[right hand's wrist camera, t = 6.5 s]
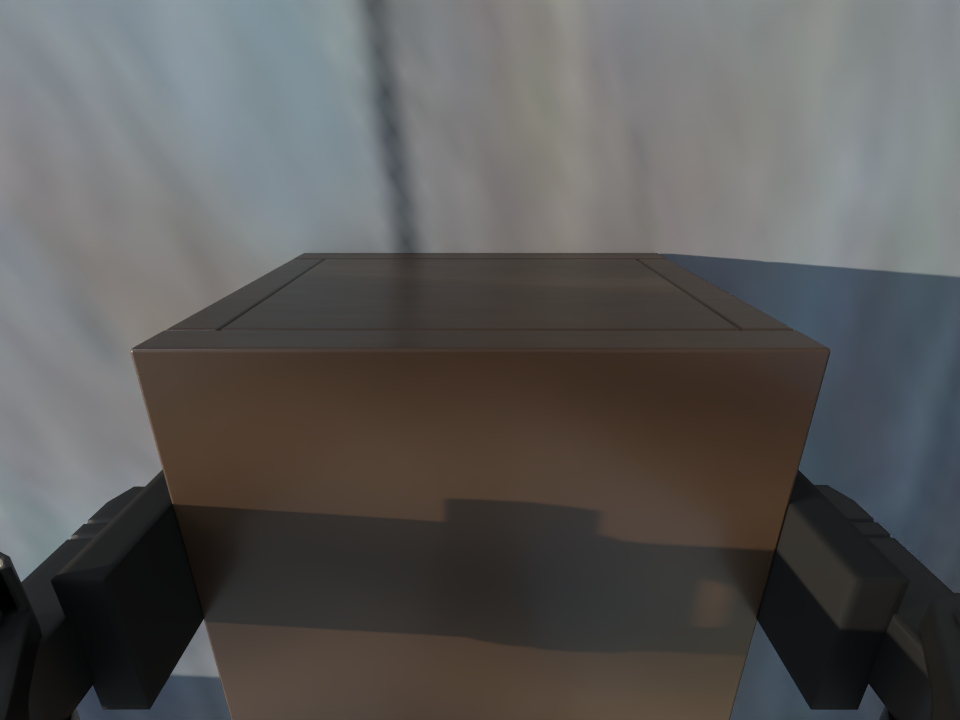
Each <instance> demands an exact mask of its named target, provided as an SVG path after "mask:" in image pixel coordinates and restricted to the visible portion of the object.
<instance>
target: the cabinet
mask: <svg viewBox="0 0 960 720" xmlns="http://www.w3.org/2000/svg"><path fill="white" fill-rule="evenodd" d="M131 355H132V359H133V362H134V366H135V370H136V373H137V377H138V381H139V384H140V388H141V392H142V395H143V399H144V402H145V406H146V410H147V413H148V417H149V421H150V424H151V428H152V432H153V435H154V439H155V443H156V446H157V450H158V454H159V457H160V461H161V464H162V468H163V472H164V475H165V479H166V483H167V486H168V490H169V494H170V497H171V501H172V505H173V508H174V512H175V515H176V519H177V523H178V526H179V530H180V534H181V537H182V541H183V545H184V548H185V552H186V556H187V559H188V563H189V567H190V570H191V574H192V577H193V581H194V585H195V588H196V592H197V596H198V599H199V603H200V607H201V610H202V614H203V618H204V621H205V625H206V628H207V632H208V636H209V639H210V643H211V647H212V650H213V654H214V658H215V661H216V665H217V669H218V672H219V676H220V680H221V683H222V687H223V690H224V694H225V698H226V701H227V705H228V709H229V712H230V716H231V720H729V719H730V716H731V712H732V709H733V705H734V701H735V698H736V694H737V690H738V687H739V683H740V679H741V676H742V672H743V668H744V665H745V661H746V657H747V654H748V650H749V647H750V643H751V639H752V636H753V632H754V628H755V625H756V621H757V617H758V614H759V610H760V606H761V603H762V599H763V596H764V592H765V588H766V585H767V581H768V577H769V574H770V570H771V566H772V563H773V559H774V555H775V552H776V548H777V544H778V541H779V537H780V534H781V530H782V526H783V523H784V519H785V515H786V512H787V508H788V504H789V501H790V497H791V493H792V490H793V486H794V483H795V479H796V475H797V472H798V468H799V464H800V461H801V457H802V453H803V450H804V446H805V442H806V439H807V435H808V432H809V428H810V424H811V421H812V417H813V413H814V410H815V406H816V402H817V399H818V395H819V391H820V388H821V384H822V380H823V377H824V373H825V370H826V366H827V362H828V359H829V355H830V349H829V348H827V347H825V346H823V345H822V344H820V343H818V342H816V341H814V340H813V339H811V338H809V337H807V336H805V335H804V334H802V333H800V332H798V331H794V330H793V329H792V328H790V327H788V326H786V325H785V324H783V323H781V322H779V321H777V320H776V319H774V318H772V317H770V316H768V315H767V314H765V313H763V312H761V311H760V310H758V309H756V308H754V307H752V306H751V305H749V304H747V303H745V302H743V301H742V300H740V299H738V298H736V297H734V296H733V295H731V294H729V293H727V292H725V291H724V290H722V289H720V288H718V287H716V286H715V285H713V284H711V283H709V282H707V281H706V280H704V279H702V278H700V277H699V276H697V275H695V274H693V273H691V272H690V271H688V270H686V269H684V268H682V267H681V266H679V265H677V264H675V263H673V262H672V261H670V260H668V259H667V258H665V257H663V256H661V255H659V254H657V253H304V254H302V255H300V256H298V257H296V258H294V259H293V260H291V261H289V262H288V263H286V264H284V265H282V266H280V267H278V268H277V269H275V270H273V271H271V272H269V273H268V274H266V275H264V276H262V277H260V278H259V279H257V280H255V281H253V282H251V283H250V284H248V285H246V286H244V287H242V288H241V289H239V290H237V291H235V292H233V293H232V294H230V295H228V296H226V297H224V298H223V299H221V300H219V301H217V302H215V303H214V304H212V305H210V306H208V307H206V308H205V309H203V310H201V311H199V312H197V313H196V314H194V315H192V316H190V317H188V318H187V319H185V320H183V321H181V322H179V323H178V324H176V325H174V326H172V327H170V328H169V329H167V331H163V332H161V333H159V334H157V335H155V336H154V337H152V338H150V339H148V340H146V341H145V342H143V343H141V344H139V345H137V346H136V347H134V348H132V349H131Z"/></svg>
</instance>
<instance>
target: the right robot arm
mask: <svg viewBox="0 0 960 720" xmlns="http://www.w3.org/2000/svg"><path fill="white" fill-rule="evenodd" d="M203 619H204V618H203V614H202V610H201V607H200V603H199V599H198V596H197V592H196V588H195V585H194V581H193V577H192V574H191V570H190V567H189V563H188V559H187V556H186V552H185V548H184V545H183V541H182V537H181V534H180V530H179V526H178V523H177V519H176V515H175V512H174V508H173V505H172V501H171V497H170V494H169V490H168V486H167V483H166V479H165V475H164V472H163V470H162V471H161V472H160V473H159V474H158V475H157V476H156V477H155V478H154V479H153V480H152V481H151V482H150V483H149V484H148V485H147V486H145V487H133V488H131V489H129V490H128V491H126V492H124V493H123V494H121V495H119V496H117V497H116V498H114V499H112V500H111V501H109V502H107V503H106V504H105V505H104V506H103V507H102V508H101V509H100V510H99V511H98V512H97V513H95V514H94V515H93V516H92V517H91V518H90V519H89V520H88V523H87V524H84V525H83V526H81V527H80V528H79V529H78V530H77V531H76V532H75V533H74V534H73V535H72V538H71V540H66V541H65V542H64V543H63V544H62V545H61V546H60V547H59V548H58V549H57V550H56V551H55V552H54V553H52V554H51V555H50V556H49V557H48V558H47V559H46V560H45V561H44V562H43V563H42V564H41V565H40V566H38V567H37V568H36V569H35V570H34V571H33V572H32V573H31V574H30V575H29V576H28V577H27V578H26V579H24V580H23V581H22V582H21V581H20V579H19V577H18V575H17V572H16V570H15V568H14V565H13V563H12V561H11V559H10V557H9V556H7V555H5V554H3V553H1V552H0V720H80V718H79V714H78V712H77V710H76V707H77V706H78V704H79V703H80V702H81V700H82V699H83V698H84V696H85V695H86V693H87V692H88V691H89V689H90V688H91V687H92V685H93V686H94V688H95V691H96V693H97V696H98V698H99V701H100V703H101V706H102V708H103V709H150V708H151V706H152V705H153V703H154V701H155V700H156V698H157V696H158V695H159V693H160V691H161V690H162V688H163V686H164V685H165V683H166V681H167V679H168V678H169V676H170V674H171V673H172V671H173V669H174V668H175V666H176V664H177V663H178V661H179V659H180V658H181V656H182V654H183V653H184V651H185V649H186V648H187V646H188V644H189V643H190V641H191V639H192V638H193V636H194V634H195V633H196V631H197V629H198V628H199V626H200V624H201V623H202V621H203ZM757 620H758V622H759V623H760V625H761V627H762V628H763V630H764V632H765V633H766V635H767V637H768V638H769V640H770V642H771V643H772V645H773V647H774V648H775V650H776V652H777V653H778V655H779V657H780V658H781V660H782V662H783V663H784V665H785V667H786V669H787V670H788V672H789V674H790V675H791V677H792V679H793V680H794V682H795V684H796V685H797V687H798V689H799V690H800V692H801V694H802V695H803V697H804V699H805V700H806V702H807V704H808V705H809V707H810V709H835V710H858V707H859V705H860V702H861V700H862V698H863V695H864V693H865V690H866V688H867V685H868V683H869V684H870V686H871V687H872V688H873V690H874V691H875V693H876V694H877V695H878V697H879V698H880V699H881V701H882V702H883V703H884V705H885V707H884V710H883V712H882V714H881V716H880V719H879V720H960V593H953V592H952V591H951V590H950V589H949V588H948V587H947V586H946V585H944V584H943V583H942V582H941V581H940V580H939V579H938V578H937V577H936V576H935V575H934V574H933V573H931V572H930V571H929V570H928V569H927V568H926V567H925V566H924V565H923V564H922V563H921V562H920V561H918V560H917V559H916V558H915V557H914V556H913V555H912V554H911V553H910V552H909V551H908V550H907V549H906V548H904V547H903V546H902V545H901V544H900V543H899V542H898V541H897V540H896V539H895V538H891V537H890V534H889V533H888V532H887V531H886V530H885V529H884V528H883V527H882V526H881V525H880V524H878V523H877V522H874V521H873V518H872V517H871V516H870V515H869V514H868V513H867V512H865V511H864V510H863V509H862V508H861V507H860V506H859V505H858V504H857V503H856V502H855V501H853V500H852V499H850V498H848V497H847V496H845V495H843V494H841V493H840V492H838V491H836V490H835V489H833V488H831V487H829V486H828V485H813V484H812V483H811V482H810V481H809V480H808V479H807V478H806V477H805V476H804V475H803V474H802V473H801V472H800V471H799V470H798V472H797V475H796V479H795V483H794V486H793V490H792V493H791V497H790V501H789V504H788V508H787V512H786V515H785V519H784V523H783V526H782V530H781V534H780V537H779V541H778V544H777V548H776V552H775V555H774V559H773V563H772V566H771V570H770V574H769V577H768V581H767V585H766V588H765V592H764V596H763V599H762V603H761V606H760V610H759V614H758V617H757Z"/></svg>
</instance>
